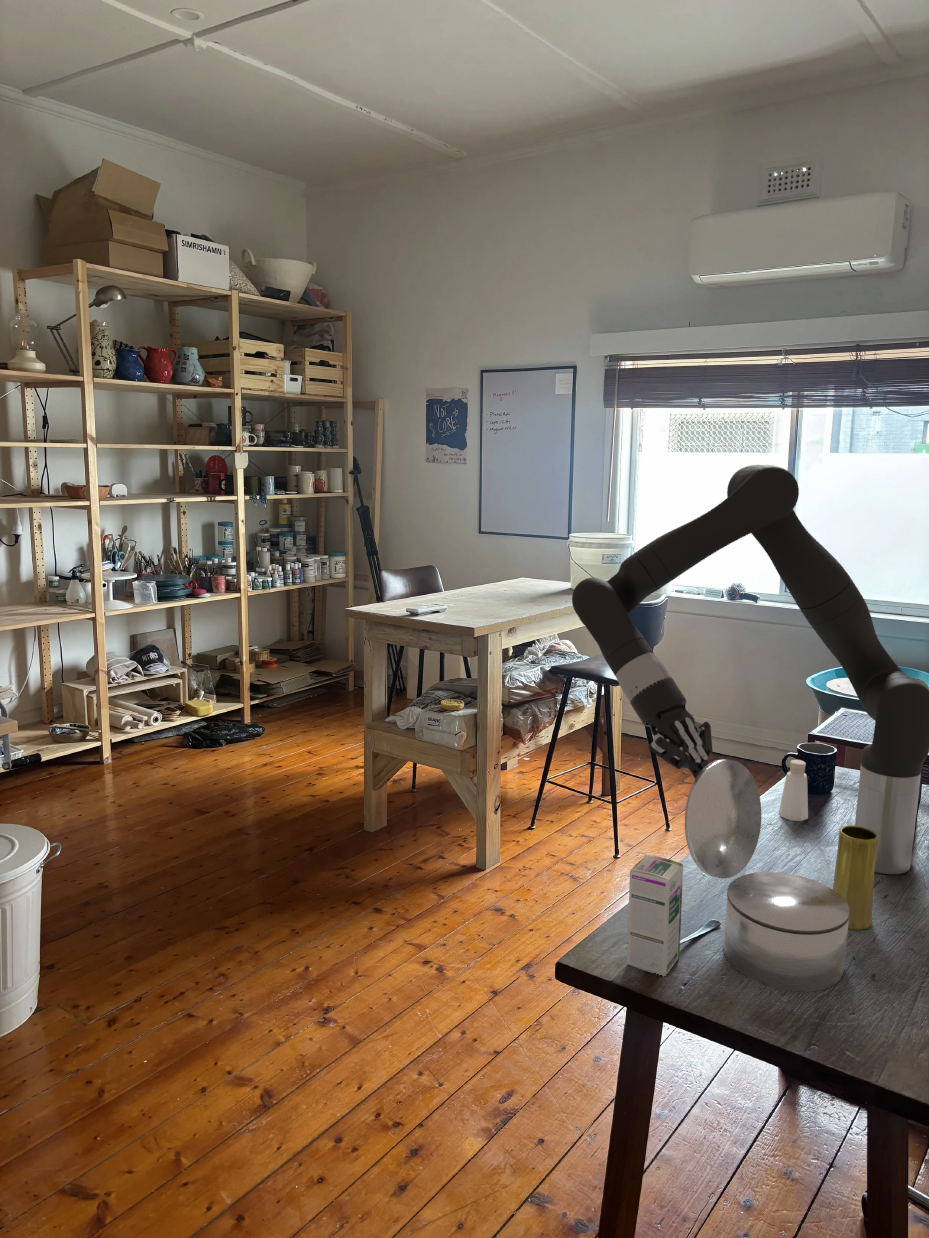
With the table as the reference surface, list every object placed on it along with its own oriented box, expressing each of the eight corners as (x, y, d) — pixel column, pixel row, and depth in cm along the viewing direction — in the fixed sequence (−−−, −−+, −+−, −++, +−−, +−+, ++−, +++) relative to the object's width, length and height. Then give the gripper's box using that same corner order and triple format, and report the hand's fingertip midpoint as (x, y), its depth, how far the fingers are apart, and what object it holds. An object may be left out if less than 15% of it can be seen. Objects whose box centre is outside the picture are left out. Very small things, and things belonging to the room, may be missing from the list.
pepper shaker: (804, 823, 171) (809, 768, 169) (775, 817, 174) (779, 763, 172) (811, 813, 176) (816, 760, 174) (782, 807, 179) (787, 754, 176)
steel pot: (763, 914, 139) (768, 861, 137) (865, 961, 127) (872, 903, 125) (700, 952, 129) (704, 895, 127) (804, 1007, 117) (810, 944, 115)
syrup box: (665, 978, 123) (671, 879, 120) (624, 964, 126) (629, 868, 123) (679, 957, 128) (685, 862, 125) (640, 945, 131) (644, 852, 128)
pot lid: (767, 858, 138) (751, 855, 140) (754, 748, 137) (738, 747, 139) (699, 894, 127) (683, 890, 129) (685, 775, 126) (669, 773, 129)
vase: (875, 932, 134) (885, 843, 132) (832, 927, 136) (840, 839, 133) (866, 911, 140) (875, 825, 137) (824, 907, 142) (832, 821, 139)
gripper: (636, 683, 134) (701, 786, 127) (691, 669, 142) (755, 765, 135) (607, 709, 139) (668, 810, 132) (662, 694, 147) (722, 787, 140)
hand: (712, 787), depth 134 cm, fingers closed
